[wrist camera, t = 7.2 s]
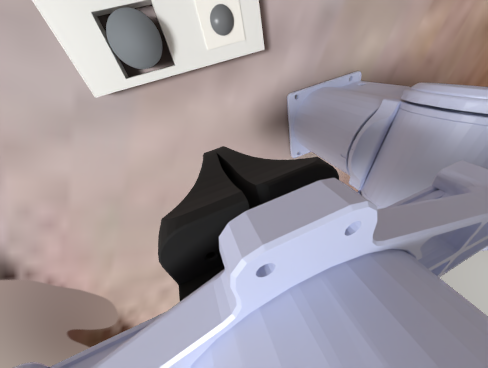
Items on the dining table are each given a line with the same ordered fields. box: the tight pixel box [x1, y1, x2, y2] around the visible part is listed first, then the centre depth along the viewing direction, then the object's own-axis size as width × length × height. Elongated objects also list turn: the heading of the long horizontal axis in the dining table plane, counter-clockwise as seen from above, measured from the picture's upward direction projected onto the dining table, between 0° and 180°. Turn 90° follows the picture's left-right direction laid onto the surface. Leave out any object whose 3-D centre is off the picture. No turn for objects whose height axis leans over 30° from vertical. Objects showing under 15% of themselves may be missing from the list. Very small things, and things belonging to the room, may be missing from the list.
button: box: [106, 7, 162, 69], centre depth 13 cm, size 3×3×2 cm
